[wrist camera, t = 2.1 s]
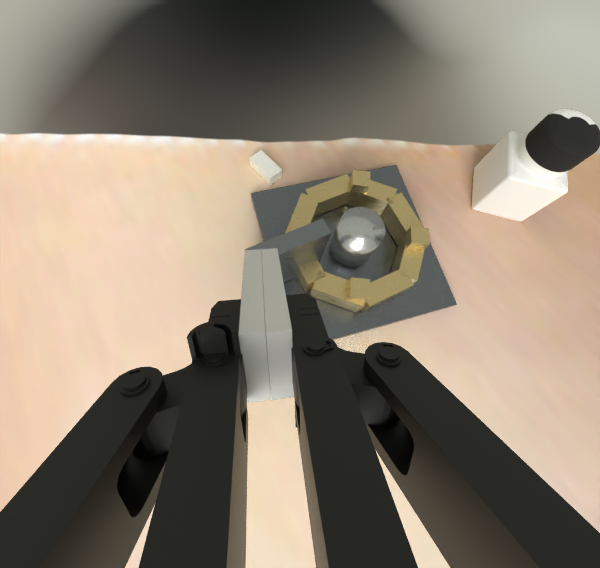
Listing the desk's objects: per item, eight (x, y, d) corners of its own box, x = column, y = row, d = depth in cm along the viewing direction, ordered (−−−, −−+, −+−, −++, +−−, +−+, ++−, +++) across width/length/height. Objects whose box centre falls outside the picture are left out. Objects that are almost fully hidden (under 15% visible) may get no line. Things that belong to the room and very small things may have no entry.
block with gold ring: (373, 176, 40) (400, 121, 31) (435, 276, 36) (486, 244, 28) (229, 231, 36) (215, 185, 27) (283, 349, 32) (287, 339, 24)
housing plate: (393, 169, 42) (412, 136, 36) (452, 306, 36) (485, 293, 31) (251, 197, 39) (247, 166, 33) (292, 351, 33) (296, 346, 28)
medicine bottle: (521, 223, 41) (616, 163, 29) (470, 210, 41) (546, 145, 29) (521, 179, 43) (610, 108, 32) (472, 167, 43) (544, 91, 32)
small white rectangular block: (281, 176, 40) (282, 169, 39) (270, 185, 39) (270, 178, 38) (261, 157, 41) (261, 149, 39) (250, 165, 40) (249, 157, 39)
